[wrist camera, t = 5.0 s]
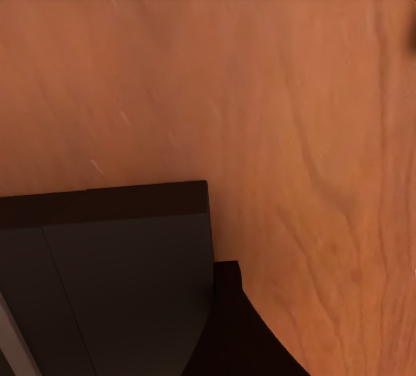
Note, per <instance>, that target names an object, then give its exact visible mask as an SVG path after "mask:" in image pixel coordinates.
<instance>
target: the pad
mask: <svg viewBox="0 0 416 376" xmlns="http://www.w3.org/2000/svg"><path fill="white" fill-rule="evenodd" d="M42 228H43V231H44V234H45V236H46V239H47V242H48V244H49V247H50V250H51V253H52V255H53V258H54V261H55V263H56V266H57V269H58V271H59V274H60V277H61V279H62V282H63V285H64V287H65V290H66V293H67V295H68V298H69V301H70V303H71V306H72V309H73V311H74V314H75V317H76V320H77V322H78V325H79V328H80V330H81V333H82V336H83V338H84V341H85V344H86V346H87V349H88V352H89V354H90V357H91V360H92V362H93V365H94V368H95V370H96V373H97V376H181V374H182V372H183V370H184V369H185V367H186V365H187V363H188V361H189V359H190V357H191V355H192V353H193V351H194V349H195V346H196V344H197V342H198V340H199V338H200V335H201V333H202V331H203V328H204V326H205V323H206V321H207V318H208V315H209V312H210V309H211V307H212V304H213V300H214V297H215V285H214V265H213V262H214V254H213V242H212V230H211V219H210V207H209V195H208V184H207V181H206V180H205V181H192V182H179V183H166V184H153V185H141V186H128V187H115V188H102V189H89V190H86V191H85V192H84V193H82V194H81V195H80V196H79V197H77V198H76V199H75V200H74V201H72V202H71V203H70V204H69V205H67V206H66V207H65V208H64V209H62V210H61V211H60V212H59V213H57V214H56V215H55V216H53V217H52V218H51V219H50V220H48V221H47V222H46V223H45V224H43V225H42Z"/></svg>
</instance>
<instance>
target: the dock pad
mask: <svg viewBox="0 0 416 376" xmlns="http://www.w3.org/2000/svg"><path fill="white" fill-rule="evenodd" d="M84 192H85V191H75V192H62V193H50V194H38V195H25V196H13V197H1V198H0V376H97V373H96V370H95V368H94V365H93V362H92V360H91V357H90V354H89V352H88V349H87V346H86V344H85V341H84V338H83V336H82V333H81V330H80V328H79V325H78V322H77V320H76V317H75V314H74V311H73V309H72V306H71V303H70V301H69V298H68V295H67V293H66V290H65V287H64V285H63V282H62V279H61V277H60V274H59V271H58V269H57V266H56V263H55V261H54V258H53V255H52V253H51V250H50V247H49V244H48V242H47V239H46V236H45V234H44V231H43V228H42V225H43V224H45V223H46V222H47V221H48V220H50V219H51V218H52V217H53V216H55V215H56V214H57V213H59V212H60V211H61V210H62V209H64V208H65V207H66V206H67V205H69V204H70V203H71V202H72V201H74V200H75V199H76V198H77V197H79V196H80V195H81V194H82V193H84Z"/></svg>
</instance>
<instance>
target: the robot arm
mask: <svg viewBox="0 0 416 376" xmlns="http://www.w3.org/2000/svg"><path fill="white" fill-rule="evenodd" d="M213 265H214V285H215V297H214V300H213V304H212V307H211V309H210V312H209V315H208V318H207V321H206V323H205V326H204V328H203V331H202V333H201V335H200V338H199V340H198V342H197V344H196V346H195V349H194V351H193V353H192V355H191V357H190V359H189V361H188V363H187V365H186V367H185V369H184V370H183V372H182V374H181V376H311V375H310V374H309V373H308V372H307V371H306V370H305V369H304V368H303V367H302V366H301V365H300V364H299V363H298V362H297V361H296V360H295V359H294V358H293V356H292V355H291V354H290V353H289V352H288V351H287V350H286V348H285V347H284V346H283V345H282V344H281V343H280V341H279V340H278V339H277V338H276V337H275V335H274V334H273V333H272V332H271V330H270V329H269V328H268V326H267V325H266V324H265V322H264V321H263V320H262V318H261V317H260V315H259V314H258V313H257V311H256V310H255V308H254V307H253V305H252V304H251V302H250V301H249V299H248V297H247V296H246V294H245V293H244V291H243V289H242V278H241V270H240V267H239V264H238V260H236V261H222V262H213Z"/></svg>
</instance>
